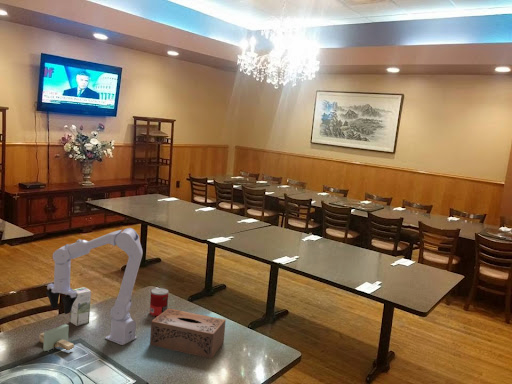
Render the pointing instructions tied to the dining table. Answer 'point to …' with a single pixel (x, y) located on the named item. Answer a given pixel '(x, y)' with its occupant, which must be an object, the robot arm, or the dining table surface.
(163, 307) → the canned food
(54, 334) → the cross plate
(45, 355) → the dining table surface
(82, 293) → the syrup box
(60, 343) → the slotted rail
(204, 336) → the tissue box cover
